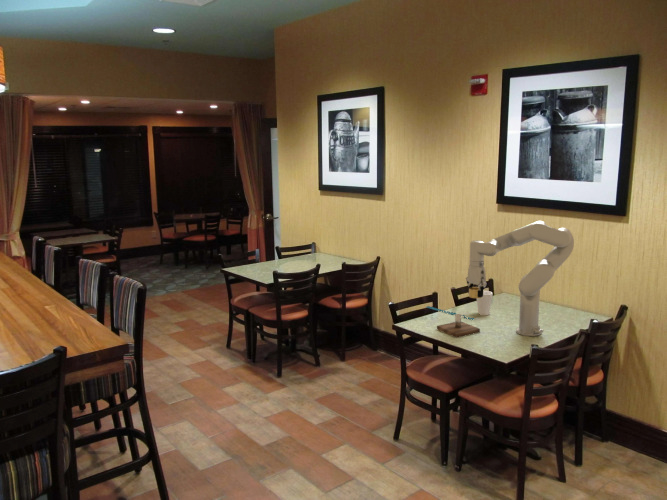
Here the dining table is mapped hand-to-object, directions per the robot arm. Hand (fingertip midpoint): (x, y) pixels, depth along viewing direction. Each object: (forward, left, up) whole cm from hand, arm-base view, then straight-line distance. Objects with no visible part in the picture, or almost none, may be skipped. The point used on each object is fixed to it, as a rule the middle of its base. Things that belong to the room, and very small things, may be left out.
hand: (475, 295), depth 293 cm
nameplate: (+28, -5, -19) cm, 34 cm away
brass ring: (0, 0, -1) cm, 1 cm away
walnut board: (0, +12, -18) cm, 22 cm away
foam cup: (+16, -21, -18) cm, 32 cm away
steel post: (0, +12, -16) cm, 20 cm away
